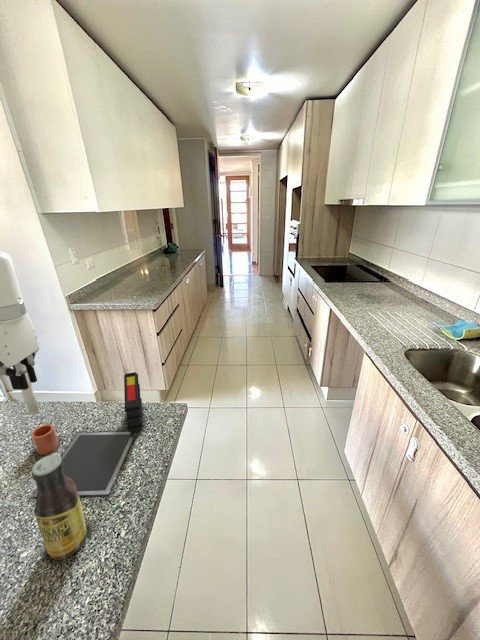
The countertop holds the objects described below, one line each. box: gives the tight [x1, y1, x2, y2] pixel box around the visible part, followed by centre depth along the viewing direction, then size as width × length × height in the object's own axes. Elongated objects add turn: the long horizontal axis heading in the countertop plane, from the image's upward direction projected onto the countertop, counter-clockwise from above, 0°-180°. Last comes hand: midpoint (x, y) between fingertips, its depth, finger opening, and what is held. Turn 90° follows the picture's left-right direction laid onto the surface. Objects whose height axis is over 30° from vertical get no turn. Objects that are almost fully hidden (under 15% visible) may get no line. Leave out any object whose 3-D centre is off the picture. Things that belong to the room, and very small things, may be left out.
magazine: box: [123, 371, 144, 432], centre depth 76 cm, size 4×13×15 cm, turn 21°
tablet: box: [32, 431, 137, 498], centre depth 64 cm, size 16×18×1 cm
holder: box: [31, 423, 59, 455], centre depth 67 cm, size 5×5×6 cm
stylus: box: [20, 364, 40, 416], centre depth 62 cm, size 2×2×14 cm
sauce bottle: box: [31, 454, 87, 561], centre depth 45 cm, size 7×6×20 cm
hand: (25, 384), depth 61 cm, fingers closed on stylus, 2 cm apart
